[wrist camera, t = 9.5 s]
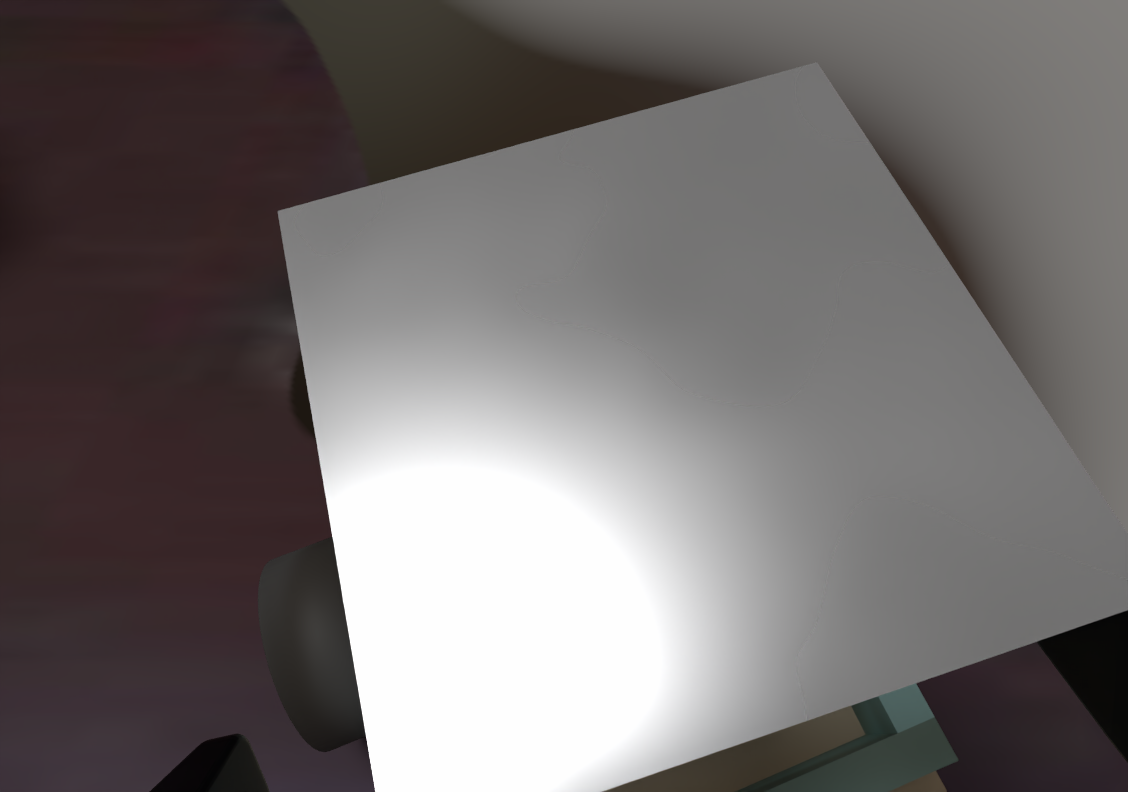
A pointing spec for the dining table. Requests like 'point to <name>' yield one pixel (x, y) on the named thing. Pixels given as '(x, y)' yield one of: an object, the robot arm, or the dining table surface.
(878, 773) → the toy car chassis
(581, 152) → the tall gray rectangular block
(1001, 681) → the dining table surface
